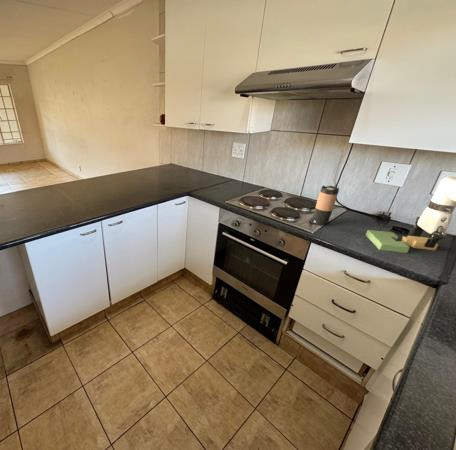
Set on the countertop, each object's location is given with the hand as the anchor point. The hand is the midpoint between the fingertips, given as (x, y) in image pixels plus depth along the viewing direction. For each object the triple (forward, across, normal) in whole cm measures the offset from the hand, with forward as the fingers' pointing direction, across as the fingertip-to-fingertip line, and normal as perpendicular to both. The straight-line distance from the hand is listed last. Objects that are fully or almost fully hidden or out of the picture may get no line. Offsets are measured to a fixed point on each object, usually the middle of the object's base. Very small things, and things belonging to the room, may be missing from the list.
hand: (421, 241), depth 111 cm
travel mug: (+2, +14, +37) cm, 40 cm away
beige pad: (+2, 0, +1) cm, 2 cm away
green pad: (+2, -2, +14) cm, 14 cm away
